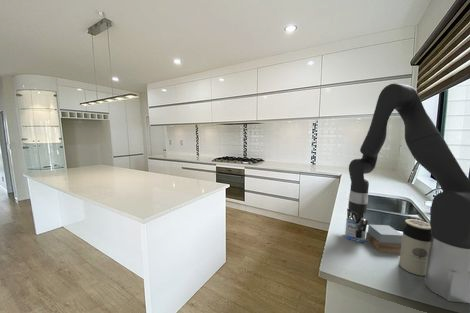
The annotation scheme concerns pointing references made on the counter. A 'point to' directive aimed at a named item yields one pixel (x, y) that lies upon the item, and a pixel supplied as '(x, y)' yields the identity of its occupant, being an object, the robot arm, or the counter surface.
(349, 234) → the medicine box
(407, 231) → the travel mug
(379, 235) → the tower top block
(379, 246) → the tower base block
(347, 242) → the counter surface
